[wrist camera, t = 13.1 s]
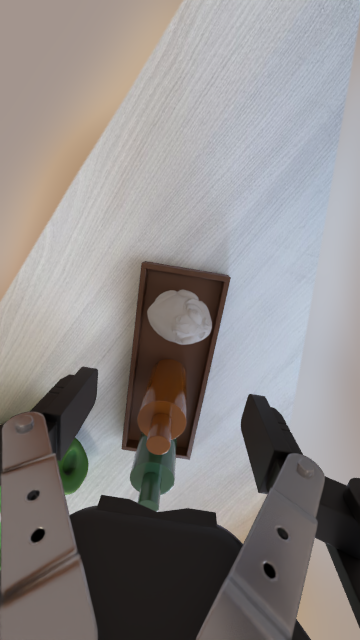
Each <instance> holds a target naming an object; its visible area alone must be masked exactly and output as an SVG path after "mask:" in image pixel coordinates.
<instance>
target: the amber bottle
mask: <svg viewBox="0 0 360 640" xmlns="http://www.w3.org/2000/svg"><path fill="white" fill-rule="evenodd" d="M186 415H187V372H186V370H185V368H184V366H183V365H182V364H181V363H179V362H178V361H176V360H172V359H164V360H161V361H159V362H157V363H156V364H155V365H154V366H153V368H152V370H151V373H150V376H149V380H148V383H147V386H146V390H145V393H144V397H143V400H142V403H141V407H140V410H139V414H138V418H137V421H138V426H139V428H140V430H141V431H142V432H143V433H144V434H145V435H146V436H147V442H146V446H147V449H148V450H149V451H150V452H151V453H153V454H156V455H162V454H165V453H167V452H168V451H169V449H170V446H171V440H173V439H175V438H177V437H178V436H180V435H181V434H182V433H183V431H184V430H185V427H186Z"/></svg>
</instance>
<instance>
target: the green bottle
mask: <svg viewBox="0 0 360 640" xmlns="http://www.w3.org/2000/svg"><path fill="white" fill-rule="evenodd" d="M146 442H147V436H146V435H145V434H144V433H143V432H142V431H141V434H140V438H139V442H138V446H137V450H136V454H135V458H134V462H133V466H132V470H131V474H130V481H131V484H132V486H133V487H134V488H135V489H136V490H137V491H139V492H140V493H139V498H138V503H139V504H141V505H143V506H145V507H147V508H150V509H152V510H154V511H156V512H158V510H159V502H160V495H162V494H165V493H167V492H168V491H169V490H170V489H171V488H172V487H173V485H174V480H175V463H176V446H177V438H175V439H173V440H171V446H170V449H169V451H168V452H167V453H165V454H162V455H156V454H153V453H151V452H150V451H149V450H148V449H147V446H146Z"/></svg>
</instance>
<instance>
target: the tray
mask: <svg viewBox="0 0 360 640" xmlns="http://www.w3.org/2000/svg"><path fill="white" fill-rule="evenodd" d="M230 278H231V277H229V276H228V275H224V274H218V273H212V272H206V271H200V270H194V269H188V268H182V267H176V266H170V265H164V264H159V263H153V262H147V261H145V262H142V266H141V275H140V284H139V293H138V302H137V312H136V321H135V330H134V339H133V348H132V358H131V367H130V376H129V385H128V394H127V404H126V413H125V422H124V431H123V440H122V449H123V450H130V451H136V450H137V446H138V442H139V438H140V434H141V430H140V428H139V426H138V421H137V418H138V414H139V410H140V407H141V403H142V400H143V397H144V393H145V390H146V386H147V383H148V380H149V376H150V373H151V370H152V368H153V366H154V365H155V364H156V363H157V362H159V361H161V360H164V359H172V360H176V361H178V362H179V363H181V364H182V365H183V366H184V368H185V370H186V372H187V415H186V427H185V430H184V431H183V433H182V434H181V435H180V436H178V437H177V446H176V458H182V459H188V460H190V456H191V451H192V447H193V443H194V438H195V434H196V429H197V425H198V420H199V416H200V412H201V407H202V403H203V398H204V394H205V389H206V385H207V380H208V376H209V372H210V367H211V363H212V358H213V354H214V349H215V345H216V341H217V336H218V332H219V327H220V323H221V318H222V314H223V309H224V305H225V301H226V296H227V292H228V287H229V282H230ZM170 290H174V291H176V292H178V291H180V290H186V291H190V292H192V293H194V294H195V295H196V296H197V297H198V299H199V301H202V302H203V303H204V304H205V305H206V306H207V308H208V310H209V313H210V317H211V321H212V329H211V332H210V334H209V335H208V336H207V337H206V338H205V339H203V340H201V341H199V342H195V343H193V344H185V345H181V344H178V343H175V342H172V341H168V340H166V339H165V338H163V337H162V336H160V335H159V334H158V333H157V332H156V331H155V330H154V329H153V327H152V326H151V324H150V322H149V319H148V314H147V311H148V309H149V307H150V306H151V305H152V304H153V303H154V302H155V300H156V298H157V297H158V296H159V295H160V294H162V293H163V292H166V291H170Z"/></svg>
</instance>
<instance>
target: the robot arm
mask: <svg viewBox="0 0 360 640" xmlns="http://www.w3.org/2000/svg"><path fill="white" fill-rule="evenodd" d="M97 381H98V370H97V369H94V368H88V367H81V368H80V370H79V371H78V372H77V373H76V374H75V375H68V376H66V377H64V378H62V379H60V380H59V381H58V382H57V384H56V385H55V386H54V387H53V388H52V389H51V390H50V391H49V393H47V394H46V395H45V396H44V397H43V398H42V399H41V400H40V401H39V403H38V404H37V405H36V406H35V407H34V408H33V409H32V410H31V411H30V412H25V413H21V414H18V415H15V416H13V417H12V418H10V419H9V420H8V421H7V422H6V423H5V424H4V425H0V486H1V570H0V640H311V639H310V638H309V636H308V635H307V633H306V632H305V631H304V629H303V628H302V626H301V625H300V624H299V622H298V621H297V619H296V617H297V613H298V608H299V604H300V600H301V595H302V591H303V587H304V582H305V578H306V573H307V569H308V565H309V561H310V556H311V551H312V547H313V543H314V539H315V538H317V539H319V540H321V541H323V542H325V543H326V546H327V548H328V551H329V553H330V556H331V558H332V561H333V563H334V566H335V568H336V571H337V573H338V576H339V578H340V581H341V583H342V585H343V588H344V590H345V593H346V595H347V598H348V600H349V603H350V605H351V608H352V610H353V613H354V615H355V618H356V620H357V623H358V625H359V627H360V478H353V479H351V480H350V481H349V483H348V485H347V486H346V485H344V484H341V483H339V482H337V481H335V480H332V479H330V478H328V477H325V476H324V473H323V471H322V470H321V468H320V467H319V466H318V465H317V464H316V463H315V462H314V461H312V460H311V459H310V458H308V457H306V456H304V455H303V454H302V452H301V450H300V448H299V446H298V444H297V443H296V441H295V439H294V437H293V435H292V433H291V432H290V430H289V428H288V426H287V425H286V422H285V420H284V418H283V416H282V415H281V414H280V413H279V412H278V411H277V410H276V409H275V408H272V407H270V406H269V404H268V401H267V399H266V398H265V396H260V395H253V394H249V396H248V398H247V402H246V405H245V408H244V412H243V415H242V419H241V431H242V434H243V438H244V442H245V445H246V449H247V452H248V456H249V460H250V463H251V467H252V471H253V474H254V478H255V482H256V485H257V489H258V492H259V493H263V494H267V497H266V499H265V501H264V503H263V505H262V507H261V509H260V511H259V513H258V515H257V517H256V519H255V521H254V523H253V525H252V527H251V529H250V531H249V533H248V535H247V537H246V539H245V541H244V544H242V543H241V542H240V540H238V539H237V538H236V537H235V536H234V535H233V534H232V533H231V532H229V531H228V530H227V529H225V528H223V527H222V526H220V525H218V524H217V521H216V513H215V512H209V511H202V510H196V509H189V508H186V509H179V510H171V511H164V512H156V511H154V510H152V509H150V508H147V507H145V506H143V505H141V504H139V503H137V502H134V501H132V500H130V499H125V498H118V497H112V496H105V495H101V498H100V500H99V503H98V506H92V507H88V508H84V509H82V510H79V511H77V512H75V513H73V514H71V515H69V511H68V506H67V502H66V497H65V493H64V488H63V484H62V480H61V475H60V471H59V466H58V462H57V461H61V460H62V458H63V457H64V455H65V453H66V452H67V450H68V448H69V446H70V445H71V443H72V441H73V440H74V438H75V436H76V435H77V433H78V431H79V430H80V428H81V426H82V425H83V423H84V421H85V419H86V418H87V416H88V414H89V413H90V411H91V409H92V408H93V406H94V403H95V400H96V396H97Z"/></svg>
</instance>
